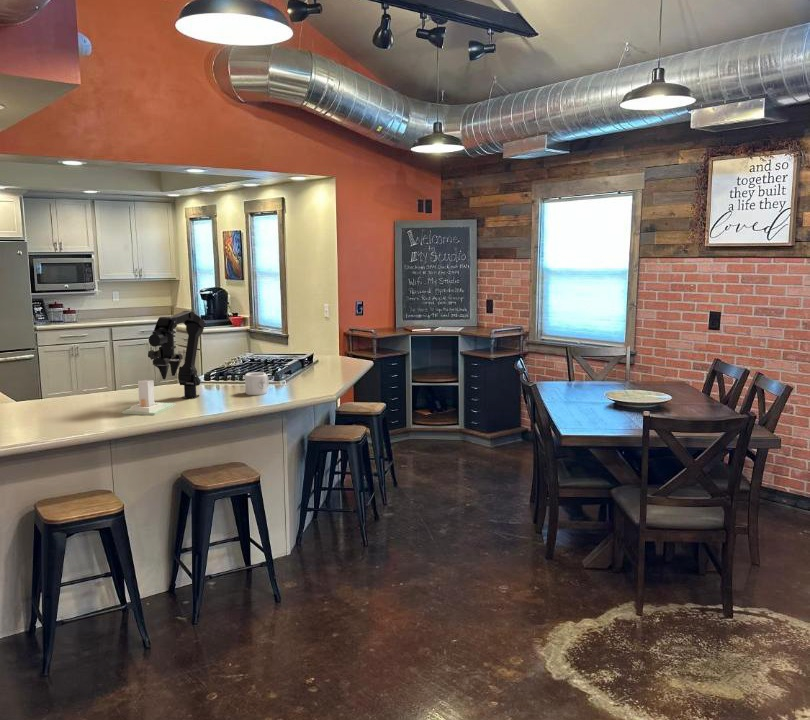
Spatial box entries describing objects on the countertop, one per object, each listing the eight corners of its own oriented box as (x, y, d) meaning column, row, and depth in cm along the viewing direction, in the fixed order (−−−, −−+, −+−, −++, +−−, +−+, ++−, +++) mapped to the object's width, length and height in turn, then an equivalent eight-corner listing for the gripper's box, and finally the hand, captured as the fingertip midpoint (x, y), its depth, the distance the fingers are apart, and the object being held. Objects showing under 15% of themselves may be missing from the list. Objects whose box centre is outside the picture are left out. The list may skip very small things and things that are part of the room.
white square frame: (145, 406, 311) (145, 401, 310) (162, 407, 308) (162, 403, 308) (131, 410, 302) (130, 406, 301) (149, 412, 299) (148, 407, 299)
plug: (145, 407, 307) (144, 379, 305) (154, 408, 306) (153, 380, 304) (138, 410, 303) (136, 381, 301) (147, 411, 301) (146, 382, 299)
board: (144, 404, 320) (144, 402, 320) (175, 405, 318) (175, 403, 318) (122, 413, 300) (122, 411, 300) (154, 415, 298) (154, 412, 298)
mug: (255, 396, 340) (254, 376, 338) (240, 393, 346) (240, 374, 344) (275, 392, 350) (275, 373, 349) (261, 389, 357) (261, 370, 355)
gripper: (160, 341, 324) (161, 373, 326) (140, 346, 306) (142, 380, 308) (182, 341, 323) (183, 374, 325) (164, 346, 304) (165, 381, 307)
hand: (168, 377), depth 316 cm, fingers open, 9 cm apart
